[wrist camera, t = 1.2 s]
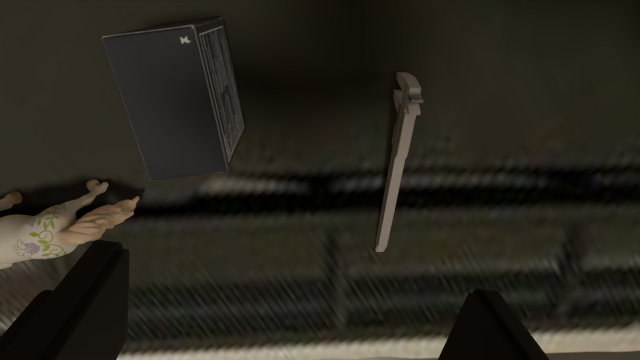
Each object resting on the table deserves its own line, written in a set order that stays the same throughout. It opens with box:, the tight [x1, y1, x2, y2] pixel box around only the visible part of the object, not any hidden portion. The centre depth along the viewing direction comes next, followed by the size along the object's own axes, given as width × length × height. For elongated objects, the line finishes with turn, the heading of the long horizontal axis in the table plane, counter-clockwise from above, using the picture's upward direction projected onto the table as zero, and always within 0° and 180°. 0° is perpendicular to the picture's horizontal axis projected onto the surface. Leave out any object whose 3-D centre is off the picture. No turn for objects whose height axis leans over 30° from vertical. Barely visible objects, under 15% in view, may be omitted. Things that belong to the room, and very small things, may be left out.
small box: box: [102, 16, 246, 181], centre depth 31 cm, size 11×6×10 cm, turn 7°
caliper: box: [375, 72, 423, 252], centre depth 38 cm, size 20×1×6 cm, turn 178°
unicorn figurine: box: [0, 179, 139, 269], centre depth 34 cm, size 7×20×13 cm, turn 117°
